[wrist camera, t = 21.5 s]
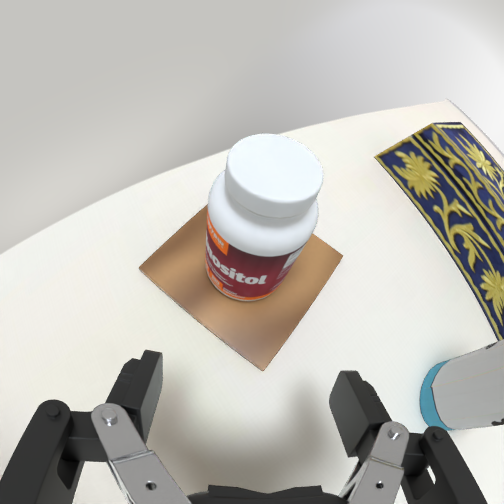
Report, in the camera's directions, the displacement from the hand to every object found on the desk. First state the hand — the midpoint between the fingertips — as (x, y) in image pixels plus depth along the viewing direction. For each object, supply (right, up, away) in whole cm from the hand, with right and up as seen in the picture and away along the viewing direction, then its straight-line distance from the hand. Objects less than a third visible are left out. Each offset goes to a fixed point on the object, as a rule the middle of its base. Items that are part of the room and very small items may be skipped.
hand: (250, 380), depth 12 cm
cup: (+18, -8, +8) cm, 21 cm away
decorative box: (+27, +7, +18) cm, 33 cm away
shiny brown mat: (0, +5, +11) cm, 12 cm away
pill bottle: (-1, +4, +11) cm, 12 cm away
